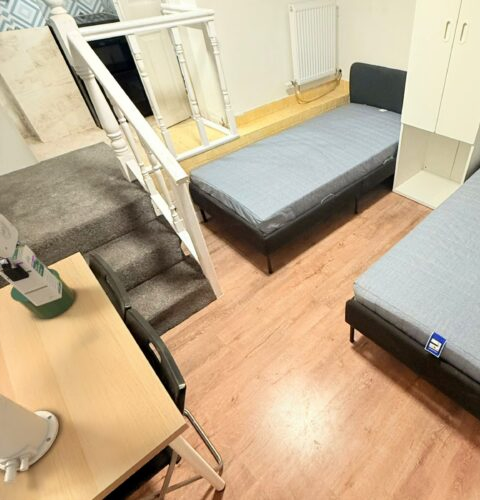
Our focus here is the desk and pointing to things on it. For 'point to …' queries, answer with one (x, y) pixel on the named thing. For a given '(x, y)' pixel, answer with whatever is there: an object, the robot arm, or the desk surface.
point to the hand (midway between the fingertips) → (23, 268)
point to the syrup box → (35, 277)
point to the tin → (52, 304)
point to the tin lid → (19, 296)
